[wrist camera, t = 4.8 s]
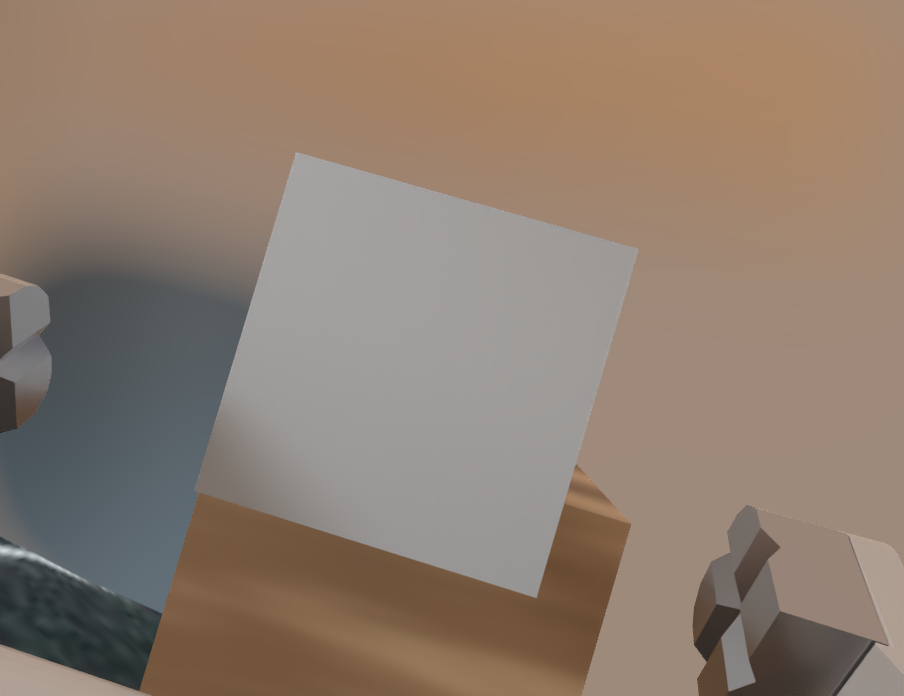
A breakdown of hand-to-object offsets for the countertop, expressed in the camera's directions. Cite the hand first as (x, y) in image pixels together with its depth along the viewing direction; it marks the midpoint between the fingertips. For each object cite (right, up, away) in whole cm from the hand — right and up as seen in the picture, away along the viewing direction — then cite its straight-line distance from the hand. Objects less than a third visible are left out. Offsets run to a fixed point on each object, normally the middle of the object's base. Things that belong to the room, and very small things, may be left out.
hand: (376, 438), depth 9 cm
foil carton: (0, -2, +11) cm, 11 cm away
